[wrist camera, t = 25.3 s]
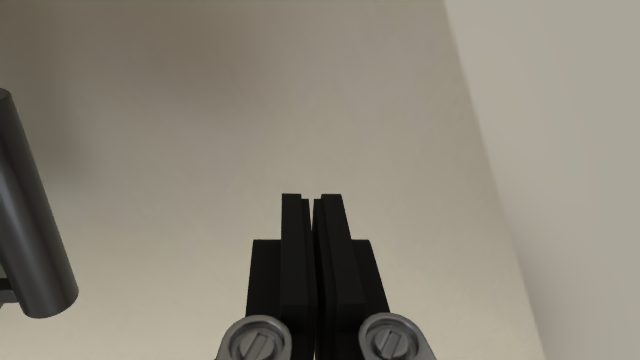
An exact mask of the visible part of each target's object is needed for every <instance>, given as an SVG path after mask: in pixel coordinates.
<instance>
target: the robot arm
mask: <svg viewBox="0 0 640 360" xmlns="http://www.w3.org/2000/svg"><path fill="white" fill-rule="evenodd" d="M314 352H315V360H437V359H436V357H435V356H434V354H433V352H432V350H431V348H430V346H429V344H428V342H427V340H426V338H425V337H424V335H423V333H422V332H421V330H420V329H419V328H418V326H417V325H415V324H414V323H413V322H412V321H411V320H409V319H407V318H405V317H403V316H401V315H398V314H394V313H390V309H389V306H388V302H387V299H386V295H385V292H384V288H383V285H382V281H381V278H380V274H379V271H378V267H377V264H376V260H375V257H374V253H373V250H372V246H371V243H370V241H369V240H351V235H350V231H349V227H348V222H347V218H346V213H345V209H344V204H343V200H342V196H341V194H322V195H321V199H314V206H313V221H312V230H311V219H310V208H309V199H301V194H284V193H282V220H281V240H253V247H252V257H251V266H250V276H249V286H248V295H247V305H246V315H245V318H242V319H240V320H239V321H237V322H235V323H234V324H233V325H232V326H231V327H230V328H229V329H228V330H227V331H226V333H225V335H224V337H223V339H222V341H221V344H220V347H219V350H218V353H217V356H216V359H215V360H314Z"/></svg>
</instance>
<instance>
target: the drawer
mask: <svg viewBox="0 0 640 360" xmlns="http://www.w3.org/2000/svg"><path fill="white" fill-rule="evenodd" d="M78 293H79V289H78V286H77V283H76V280H75V277H74V274H73V271H72V269H71V266H70V263H69V260H68V257H67V254H66V251H65V248H64V245H63V243H62V240H61V237H60V234H59V231H58V228H57V225H56V222H55V219H54V216H53V214H52V211H51V208H50V205H49V202H48V199H47V196H46V193H45V190H44V187H43V185H42V182H41V179H40V176H39V173H38V170H37V167H36V164H35V161H34V158H33V156H32V153H31V150H30V147H29V144H28V141H27V138H26V135H25V132H24V130H23V127H22V124H21V121H20V118H19V115H18V112H17V109H16V106H15V103H14V101H13V98H12V95H11V93H10V92H9V91H8V90H6V89H3V88H0V309H1V307H2V306H3V304H4V303H17V302H19V304H20V306H21V309H22V311H23V313H24V314H25V315H27V316H28V317H31V318H36V319H40V318H48V317H51V316H54V315H57V314H59V313H61V312H63V311H64V310H66V309H67V308H69V307H70V306H71V305H72V304H73V303H74V302H75V300H76V299H77V297H78Z"/></svg>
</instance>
